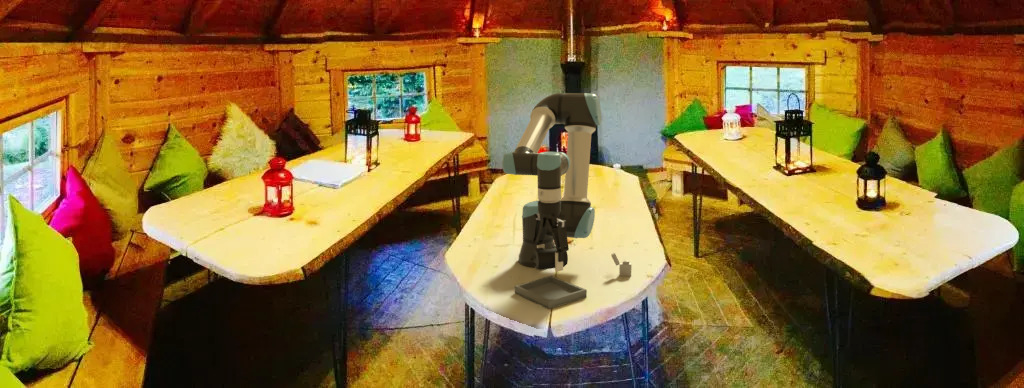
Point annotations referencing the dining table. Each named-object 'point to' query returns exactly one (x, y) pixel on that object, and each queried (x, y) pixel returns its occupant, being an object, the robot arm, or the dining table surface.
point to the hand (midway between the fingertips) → (549, 266)
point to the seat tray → (550, 292)
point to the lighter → (622, 266)
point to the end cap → (547, 258)
